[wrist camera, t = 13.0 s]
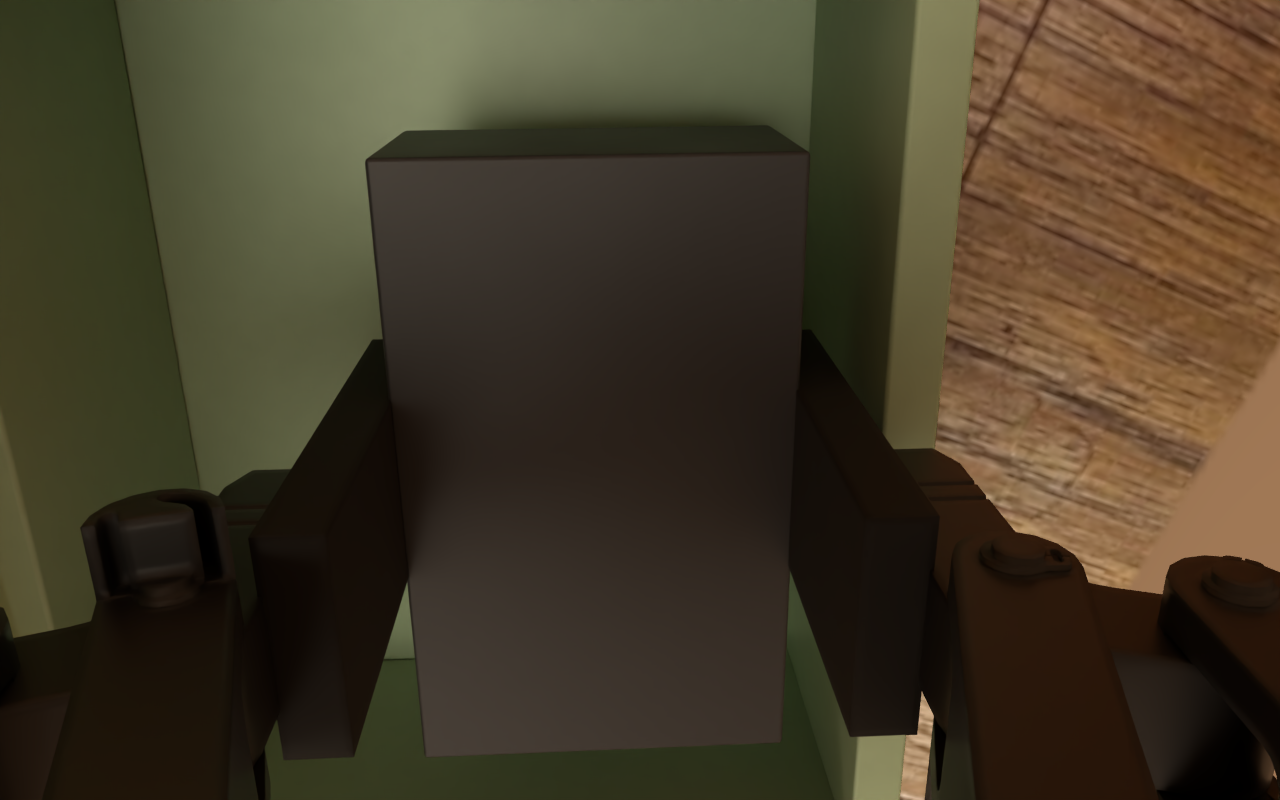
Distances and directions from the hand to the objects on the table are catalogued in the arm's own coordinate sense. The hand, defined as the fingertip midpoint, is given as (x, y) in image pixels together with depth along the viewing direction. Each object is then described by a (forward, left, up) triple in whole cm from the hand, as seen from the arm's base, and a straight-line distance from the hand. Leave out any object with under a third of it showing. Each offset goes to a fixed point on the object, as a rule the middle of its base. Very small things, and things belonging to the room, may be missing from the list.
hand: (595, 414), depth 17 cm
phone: (0, 0, 0) cm, 0 cm away
